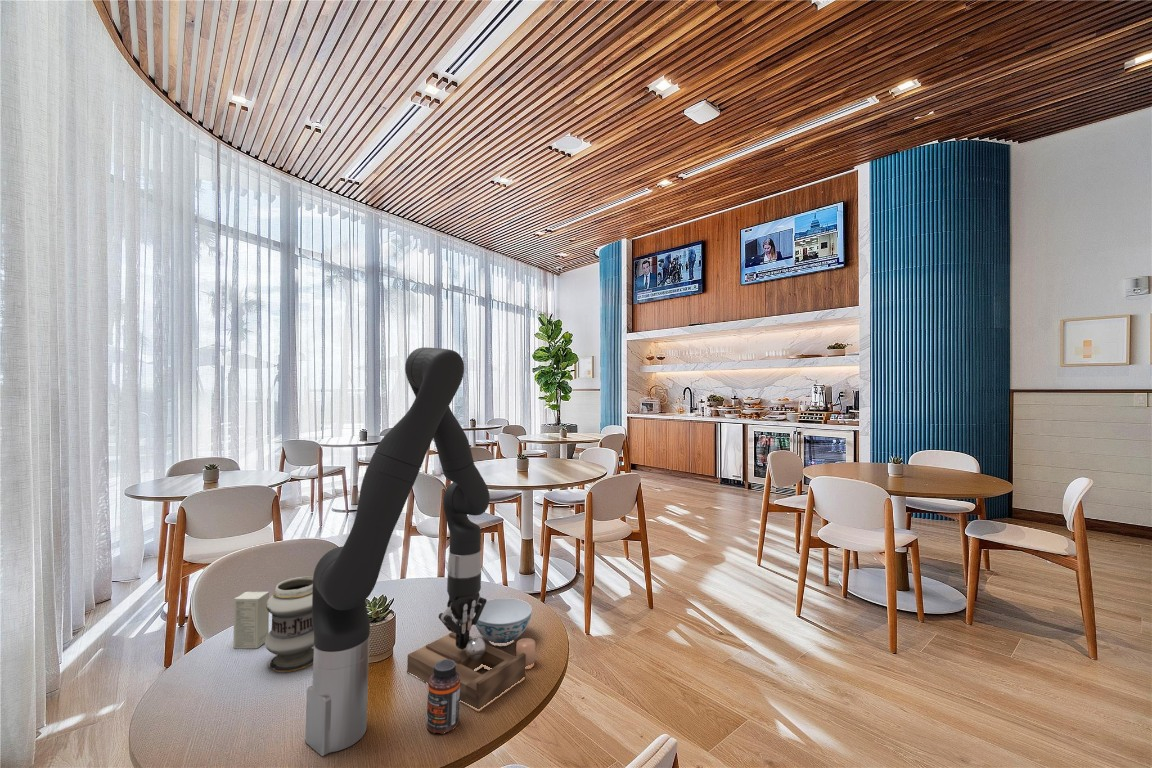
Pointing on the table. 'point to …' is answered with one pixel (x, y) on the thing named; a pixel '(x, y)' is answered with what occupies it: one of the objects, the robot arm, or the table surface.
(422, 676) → the wooden box
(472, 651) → the steel ball
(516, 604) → the chinaware
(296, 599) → the apothecary jar
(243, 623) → the skincare box
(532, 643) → the beige rounded cylinder
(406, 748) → the table surface
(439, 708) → the supplement bottle
